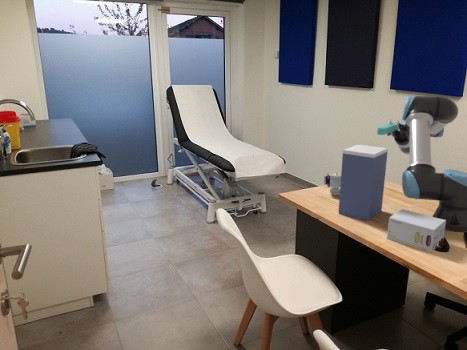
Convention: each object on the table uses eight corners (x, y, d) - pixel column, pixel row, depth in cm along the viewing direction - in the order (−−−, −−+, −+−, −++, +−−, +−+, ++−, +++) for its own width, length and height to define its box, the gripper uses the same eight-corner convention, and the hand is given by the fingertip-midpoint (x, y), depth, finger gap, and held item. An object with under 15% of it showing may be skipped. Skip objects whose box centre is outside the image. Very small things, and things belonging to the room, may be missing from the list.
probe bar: (394, 128, 202) (394, 122, 201) (400, 128, 200) (400, 123, 199) (377, 134, 184) (377, 128, 183) (383, 135, 182) (384, 128, 181)
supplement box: (386, 239, 152) (388, 217, 150) (399, 229, 161) (402, 208, 159) (431, 253, 141) (434, 229, 138) (443, 241, 150) (446, 219, 147)
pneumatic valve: (323, 193, 207) (324, 171, 204) (345, 193, 207) (346, 171, 204) (325, 196, 202) (326, 174, 199) (347, 196, 202) (349, 174, 199)
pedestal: (352, 204, 190) (357, 144, 182) (381, 210, 181) (387, 148, 173) (338, 213, 178) (343, 150, 170) (368, 221, 170) (374, 154, 161)
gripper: (416, 147, 206) (407, 130, 188) (386, 144, 216) (374, 127, 198) (420, 134, 207) (411, 116, 189) (389, 131, 217) (378, 114, 199)
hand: (392, 122), depth 194 cm, fingers closed on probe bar, 3 cm apart
